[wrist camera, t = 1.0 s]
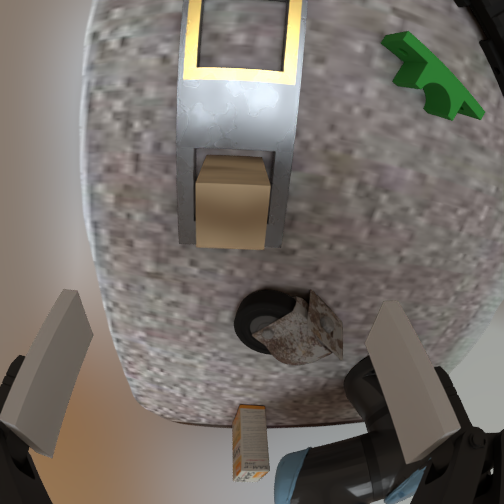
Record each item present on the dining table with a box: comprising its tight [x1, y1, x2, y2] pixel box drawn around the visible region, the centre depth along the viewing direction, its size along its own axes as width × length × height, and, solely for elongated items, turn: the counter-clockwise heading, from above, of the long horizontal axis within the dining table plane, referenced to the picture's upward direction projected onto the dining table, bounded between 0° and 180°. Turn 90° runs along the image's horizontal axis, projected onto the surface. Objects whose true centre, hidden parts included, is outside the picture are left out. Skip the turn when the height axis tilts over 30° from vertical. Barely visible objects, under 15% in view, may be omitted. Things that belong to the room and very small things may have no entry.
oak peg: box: [196, 155, 271, 250], centre depth 25 cm, size 5×5×8 cm
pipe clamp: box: [381, 31, 485, 121], centre depth 21 cm, size 11×4×5 cm, turn 61°
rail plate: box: [176, 0, 308, 248], centre depth 24 cm, size 26×10×2 cm, turn 176°
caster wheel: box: [234, 290, 343, 365], centre depth 35 cm, size 7×11×10 cm
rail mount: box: [454, 0, 504, 96], centre depth 15 cm, size 21×6×5 cm, turn 42°
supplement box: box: [232, 405, 270, 482], centre depth 45 cm, size 8×5×13 cm, turn 168°
